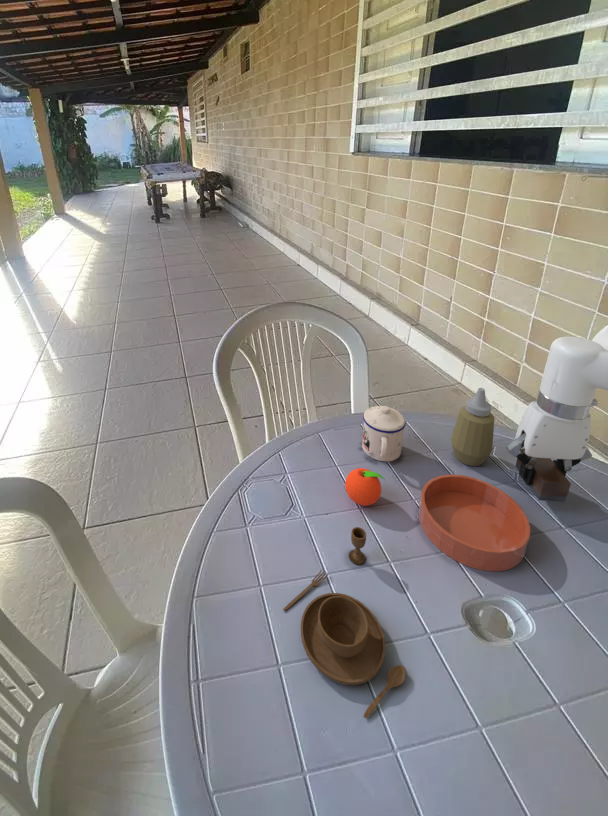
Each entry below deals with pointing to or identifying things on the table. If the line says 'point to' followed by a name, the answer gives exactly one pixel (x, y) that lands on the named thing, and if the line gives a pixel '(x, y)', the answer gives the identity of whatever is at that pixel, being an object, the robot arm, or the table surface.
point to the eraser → (548, 481)
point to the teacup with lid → (383, 433)
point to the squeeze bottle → (474, 431)
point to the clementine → (363, 486)
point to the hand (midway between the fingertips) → (539, 480)
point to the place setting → (346, 634)
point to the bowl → (474, 522)
